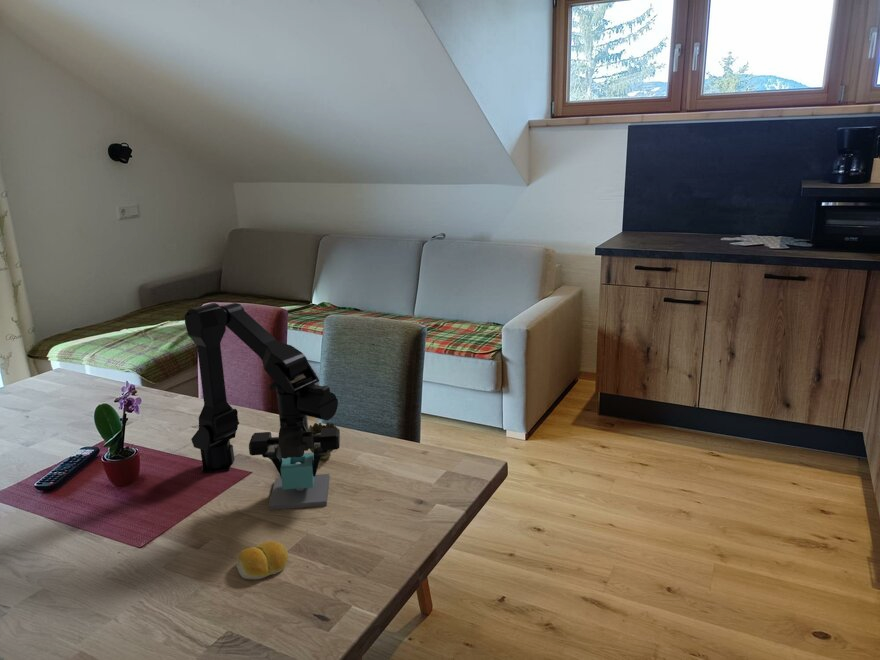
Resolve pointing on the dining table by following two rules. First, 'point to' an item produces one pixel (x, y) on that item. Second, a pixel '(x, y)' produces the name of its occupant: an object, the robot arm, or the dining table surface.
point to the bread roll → (262, 560)
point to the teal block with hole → (297, 472)
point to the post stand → (300, 494)
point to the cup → (316, 430)
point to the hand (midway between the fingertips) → (298, 476)
